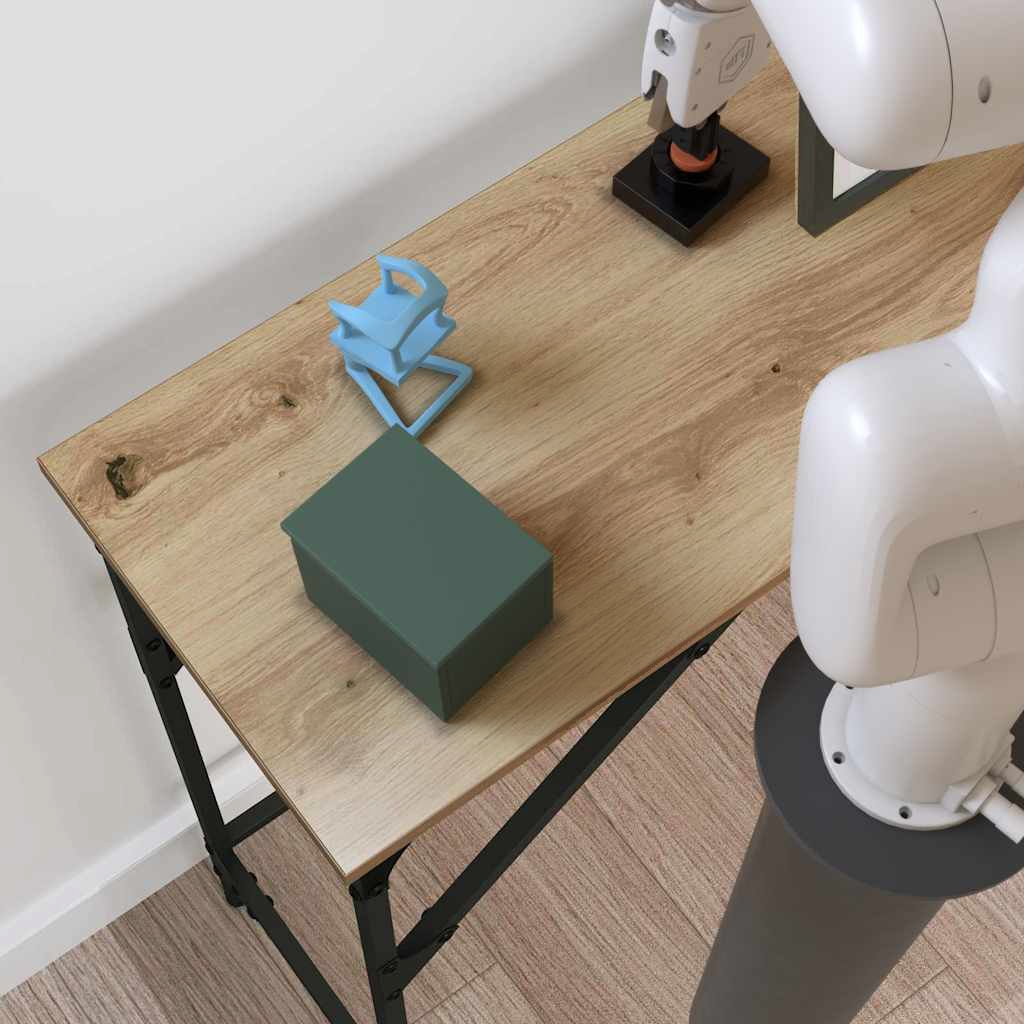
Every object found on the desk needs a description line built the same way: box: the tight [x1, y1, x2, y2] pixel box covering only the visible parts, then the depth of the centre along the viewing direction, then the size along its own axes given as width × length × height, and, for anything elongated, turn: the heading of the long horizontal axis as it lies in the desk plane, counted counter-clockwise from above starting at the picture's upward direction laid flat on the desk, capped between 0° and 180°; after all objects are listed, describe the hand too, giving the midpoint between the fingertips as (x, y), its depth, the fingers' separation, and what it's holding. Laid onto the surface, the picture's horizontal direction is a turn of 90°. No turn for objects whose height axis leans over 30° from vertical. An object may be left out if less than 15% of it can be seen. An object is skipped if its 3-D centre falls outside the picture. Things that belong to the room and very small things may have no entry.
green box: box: [290, 537, 554, 724], centre depth 108 cm, size 14×11×9 cm
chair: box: [328, 253, 473, 440], centre depth 116 cm, size 8×8×12 cm
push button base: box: [611, 123, 772, 248], centre depth 128 cm, size 8×10×4 cm
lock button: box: [670, 142, 717, 173], centre depth 127 cm, size 4×4×2 cm
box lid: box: [279, 423, 554, 670], centre depth 104 cm, size 14×11×1 cm
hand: (693, 146), depth 126 cm, fingers closed
